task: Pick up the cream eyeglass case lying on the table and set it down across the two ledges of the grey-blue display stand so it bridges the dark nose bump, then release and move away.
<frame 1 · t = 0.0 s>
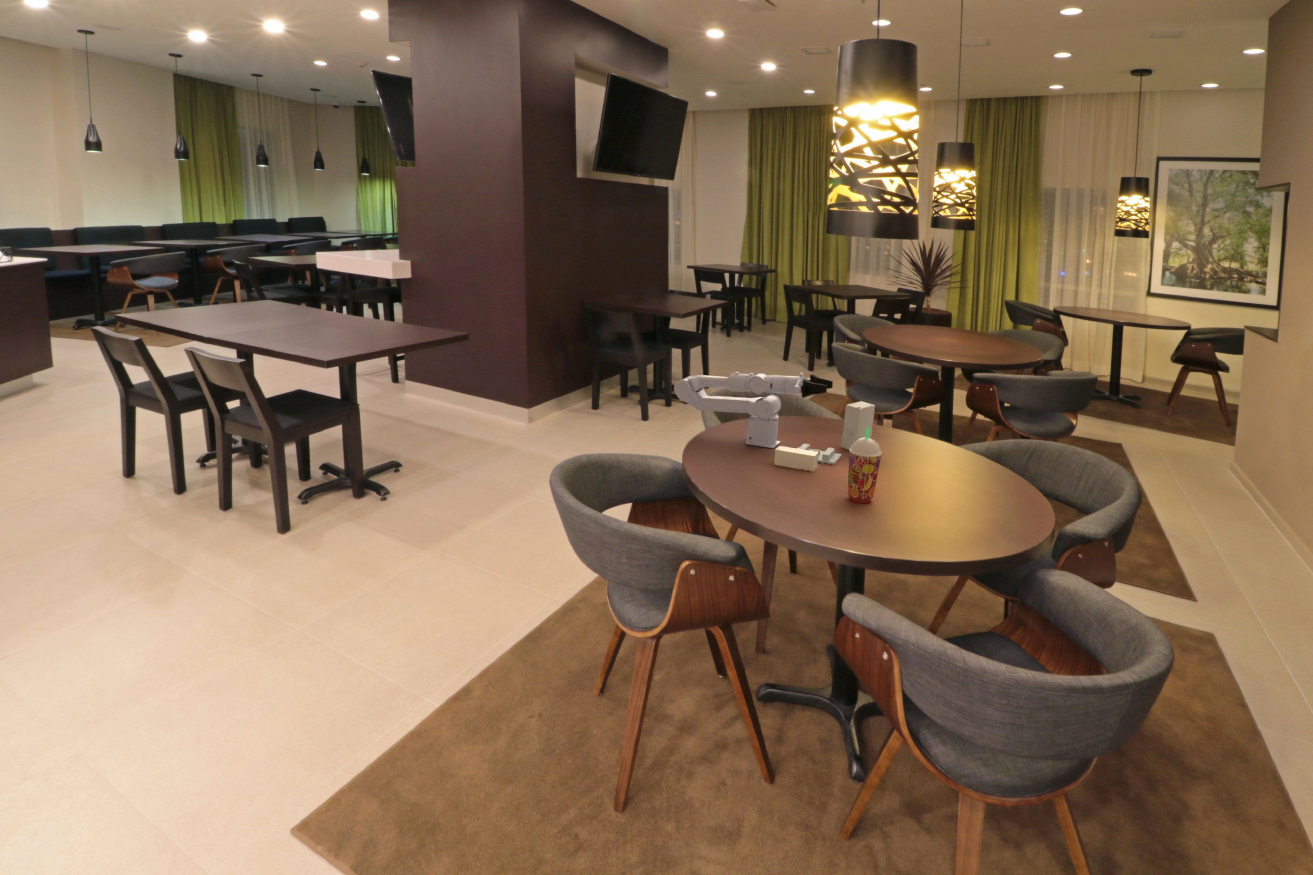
hand: (829, 386, 245), 22 cm above the table, tool horizontal, fingers open, 7 cm apart
display stand: (815, 457, 247), on the table
smoothie: (859, 500, 212), on the table
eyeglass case: (795, 466, 238), on the table
skincare box: (855, 448, 258), on the table
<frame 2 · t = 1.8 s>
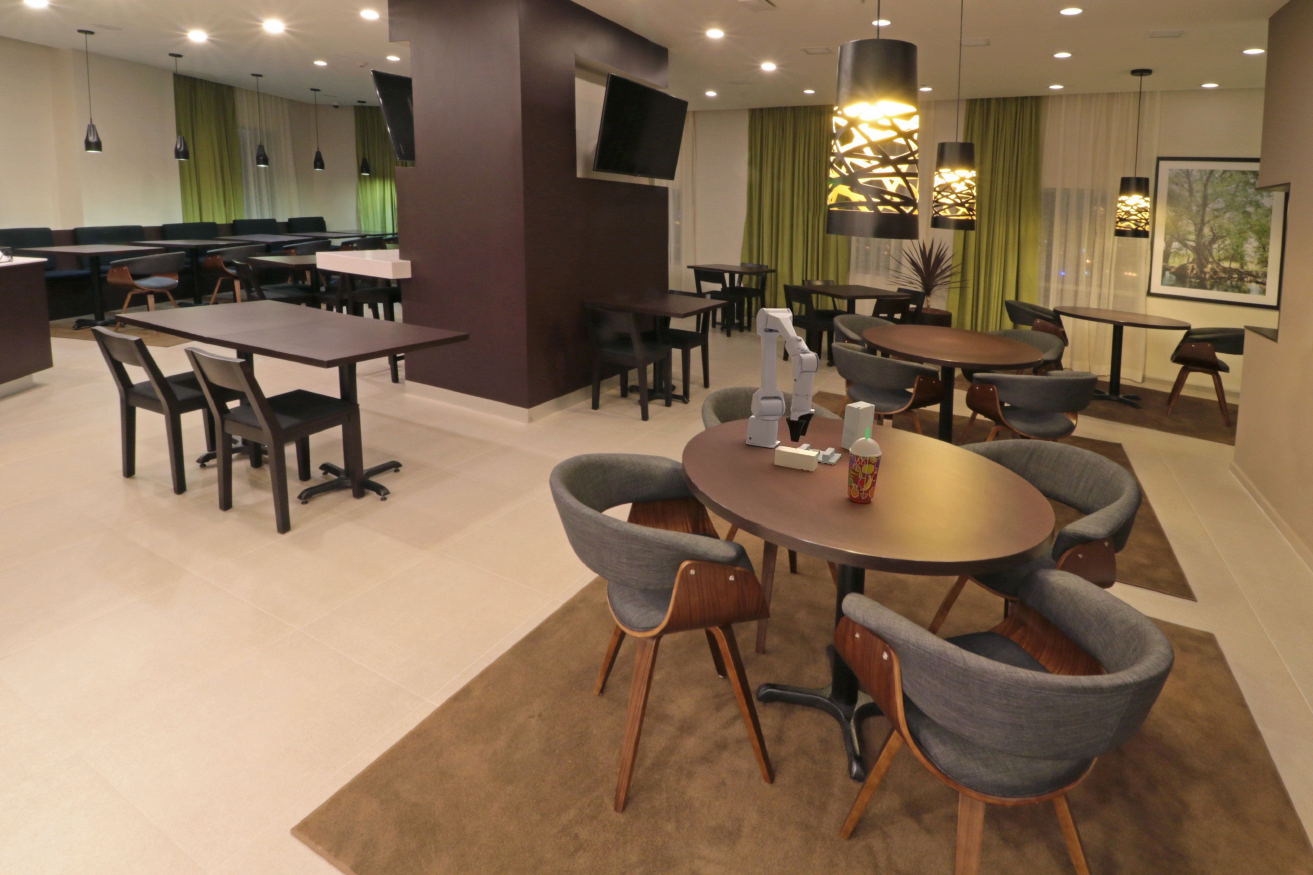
hand: (798, 438, 235), 9 cm above the table, tool pointing down, fingers open, 7 cm apart
nothing on the table moved.
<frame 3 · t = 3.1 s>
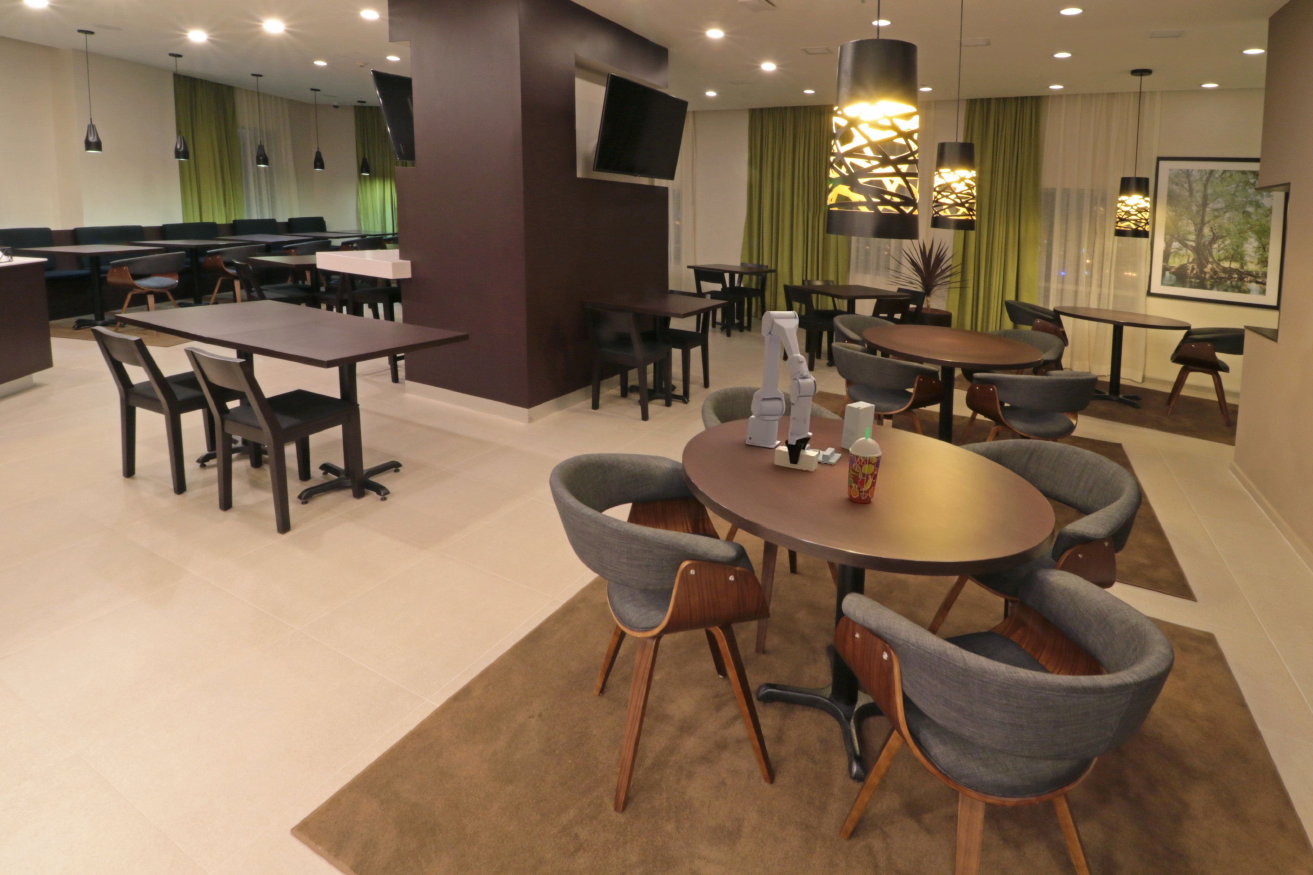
hand: (795, 461, 237), 1 cm above the table, tool pointing down, fingers closed on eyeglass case, 5 cm apart
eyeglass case: (795, 466, 238), on the table, touching gripper
everything else where it was.
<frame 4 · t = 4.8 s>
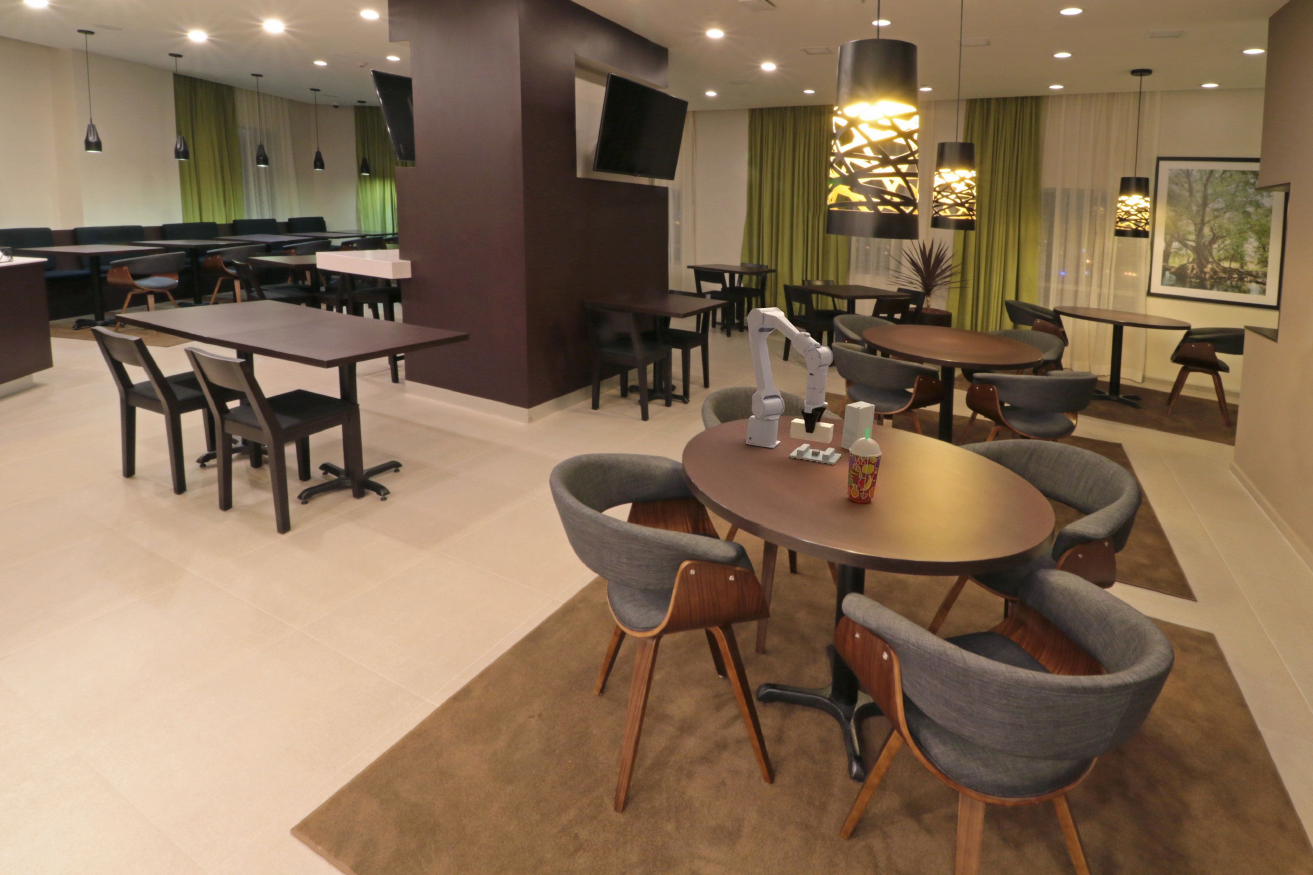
hand: (811, 430, 241), 9 cm above the table, tool pointing down, fingers closed on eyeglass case, 4 cm apart
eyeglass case: (810, 438, 242), point 7 cm above the table, touching gripper
everything else where it was.
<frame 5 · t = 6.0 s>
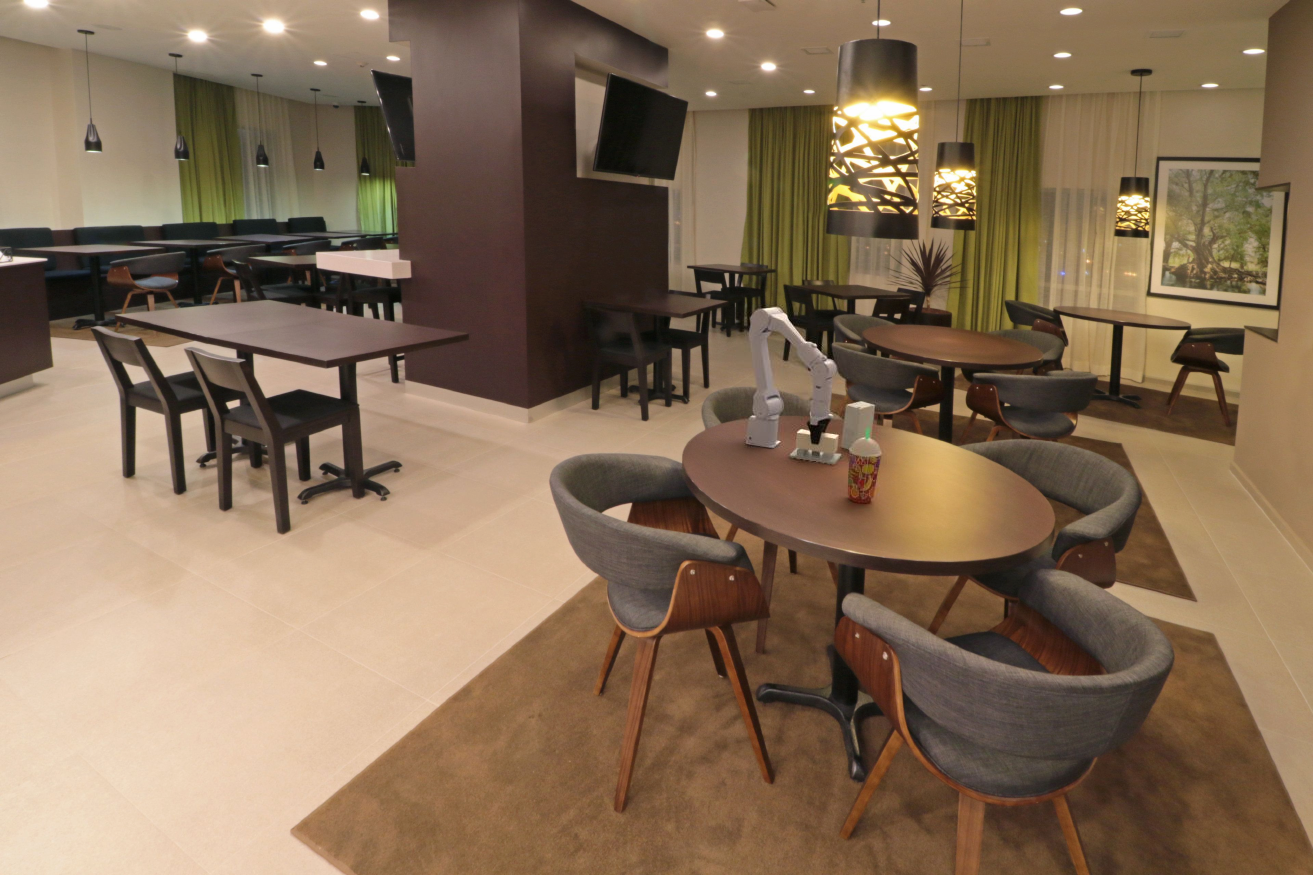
hand: (816, 442, 246), 5 cm above the table, tool pointing down, fingers closed on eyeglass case, 4 cm apart
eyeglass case: (816, 449, 246), point 3 cm above the table, touching display stand, gripper
everything else where it was.
when the fingers open (5 cm above the table, at t = 6.7 s): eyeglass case stays where it is, resting on display stand.
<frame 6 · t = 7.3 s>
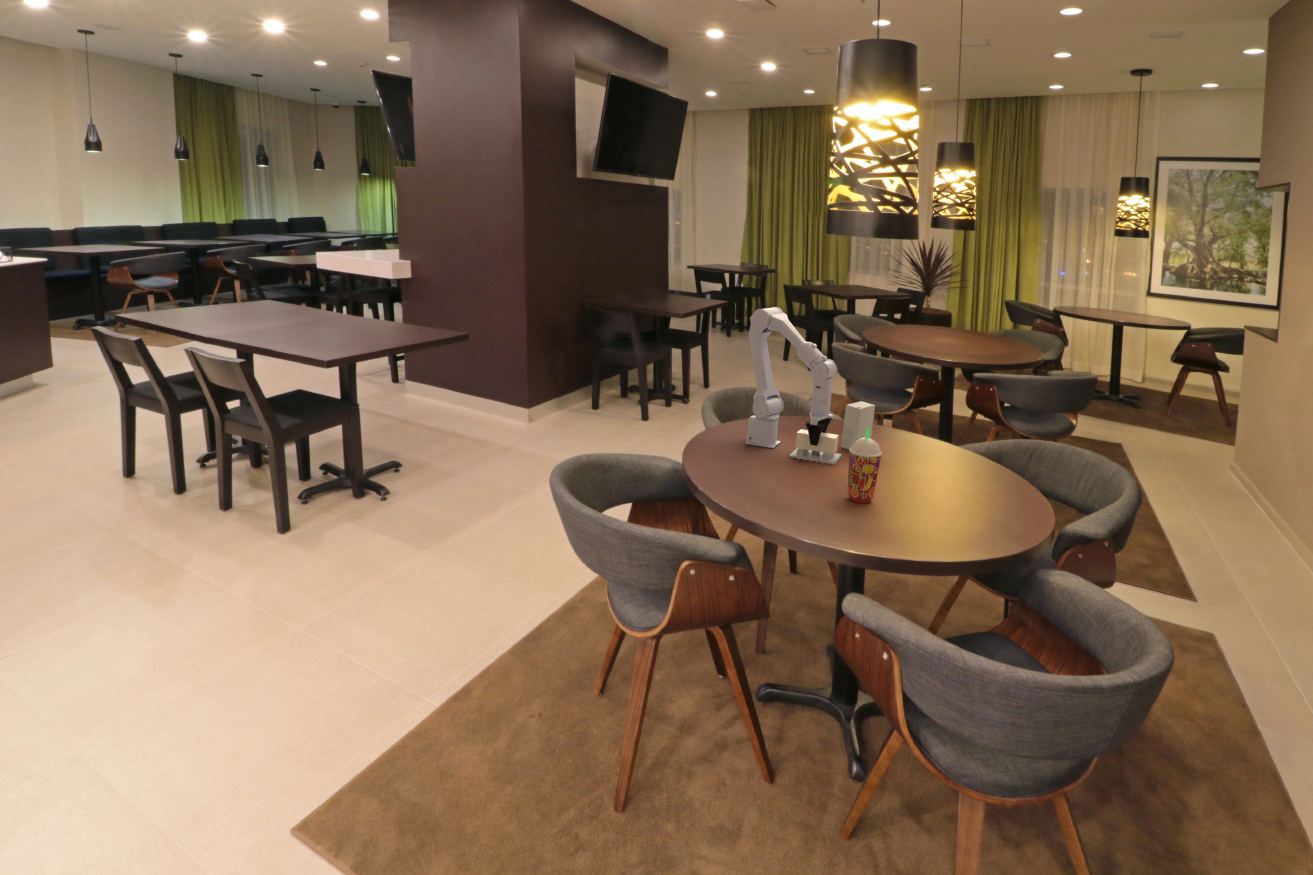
hand: (816, 442, 246), 5 cm above the table, tool pointing down, fingers open, 7 cm apart
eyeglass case: (816, 449, 246), point 3 cm above the table, touching display stand
everything else where it was.
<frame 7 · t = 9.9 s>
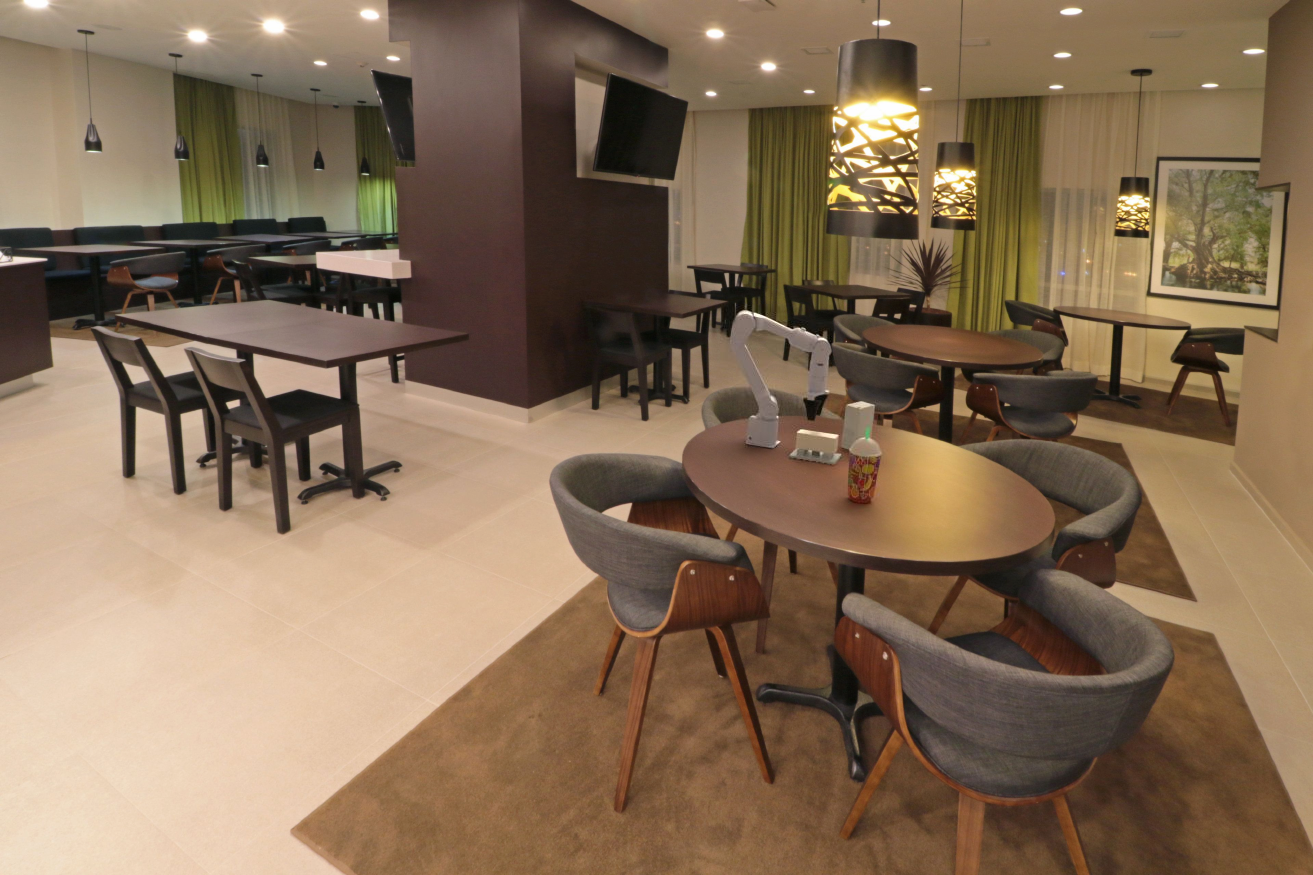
hand: (813, 417, 255), 10 cm above the table, tool pointing down, fingers open, 7 cm apart
nothing on the table moved.
at the end: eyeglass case 0.0 cm off-centre on the display stand, point 2.6 cm above the display stand's base; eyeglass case tilted 0°; the gripper is holding nothing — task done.
